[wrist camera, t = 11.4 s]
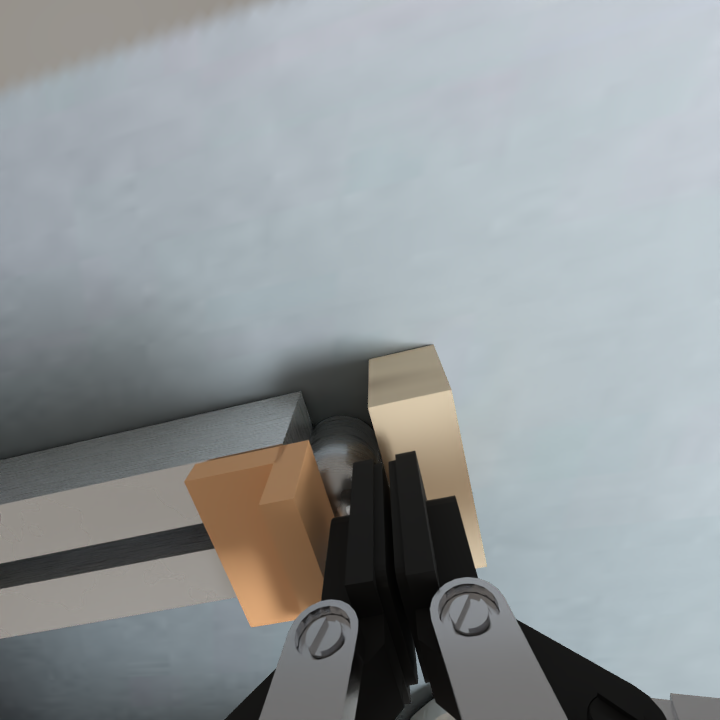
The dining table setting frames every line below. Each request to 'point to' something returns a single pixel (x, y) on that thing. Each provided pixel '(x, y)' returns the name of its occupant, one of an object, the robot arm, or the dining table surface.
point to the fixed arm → (111, 581)
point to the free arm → (159, 474)
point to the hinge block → (423, 429)
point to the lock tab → (267, 527)
